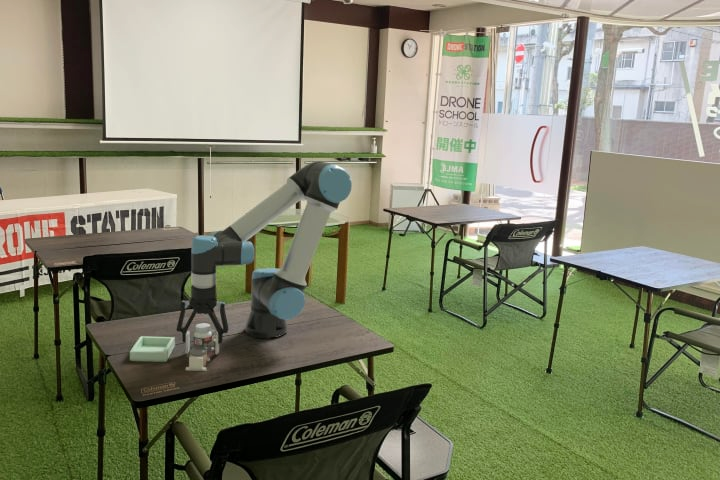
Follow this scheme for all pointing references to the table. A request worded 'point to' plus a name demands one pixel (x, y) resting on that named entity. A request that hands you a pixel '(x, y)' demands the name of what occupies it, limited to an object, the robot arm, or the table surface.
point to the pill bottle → (203, 337)
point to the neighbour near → (199, 353)
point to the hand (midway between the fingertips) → (202, 352)
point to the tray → (152, 349)
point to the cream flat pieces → (197, 362)
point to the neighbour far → (212, 336)
